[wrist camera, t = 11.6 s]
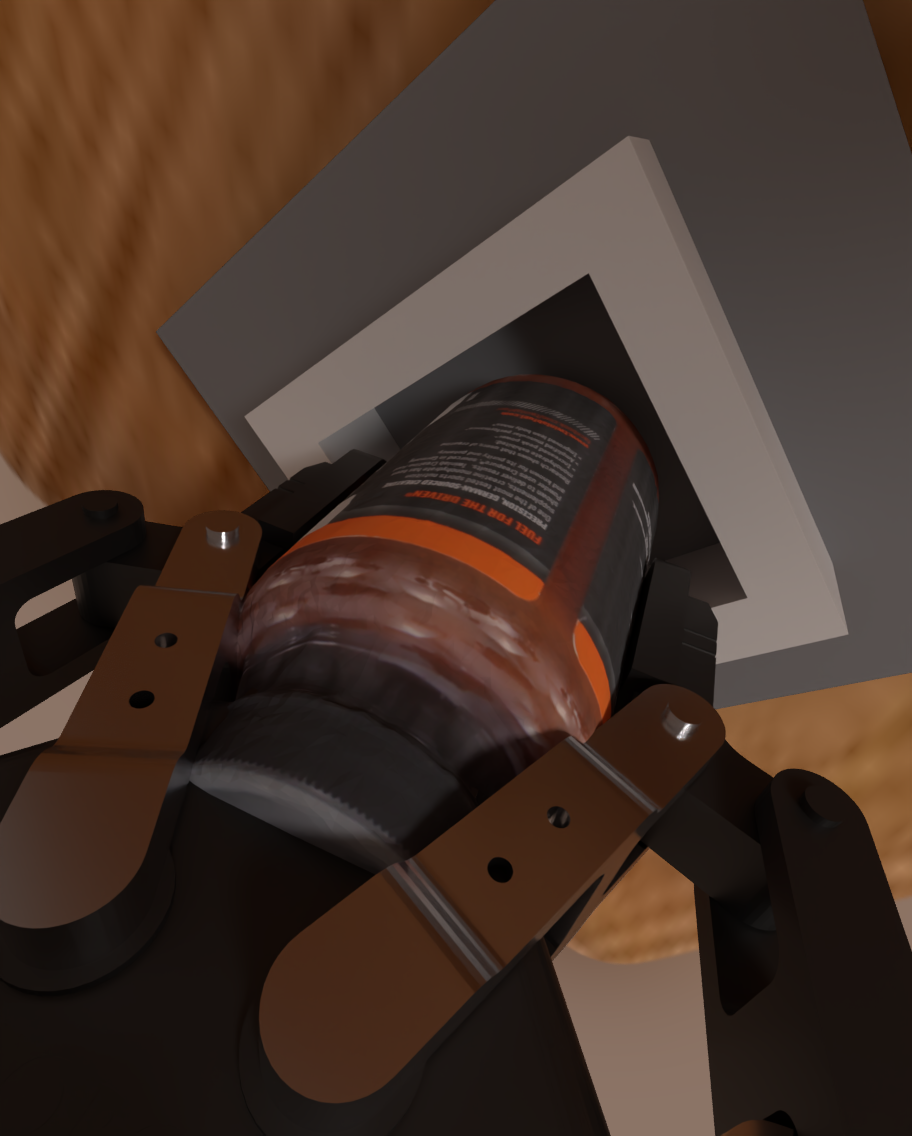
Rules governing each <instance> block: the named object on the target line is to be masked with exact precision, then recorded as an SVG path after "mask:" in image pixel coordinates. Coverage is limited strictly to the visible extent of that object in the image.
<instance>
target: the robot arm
mask: <svg viewBox="0 0 912 1136" xmlns="http://www.w3.org/2000/svg"><path fill="white" fill-rule="evenodd" d="M385 463H386V460H384V459H382V458H379V457H376V456H373V455H371V454H368V453H365V452H362V451H359V450H357V449H352V450H350V451H349V452H348V453H346V454H345V455H344V456H342V457H341V458H340V459H338V460H337V461H336V462H334V463H333V464H330V463H328V462H322V463H319V464H315V465H312V466H308V467H305V468H303V469H302V470H300V471H299V472H297V473H296V474H295V475H293V476H292V477H290V480H286V481H285V482H283V483H282V484H281V485H279V486H278V489H276V488H275V489H273V490H272V491H271V492H269V493H268V494H266V495H265V496H264V497H262V498H261V499H259V500H258V501H257V502H255V503H254V504H252V505H251V506H250V507H248V508H247V509H245V510H244V511H242V512H241V513H239V512H234V511H225V510H222V511H210V512H205V513H202V514H199V515H197V516H194V517H193V518H191V519H190V520H188V521H187V522H186V523H185V525H184V526H183V527H177V526H171V525H165V524H159V523H153V522H146V521H145V517H144V509H143V505H142V503H141V502H140V501H139V499H137V498H136V497H134V496H132V495H130V494H127V493H124V492H119V491H112V490H98V491H90V492H85V493H81V494H78V495H75V496H72V497H70V498H67V499H65V500H62V501H60V502H57V503H54V504H52V505H49V506H47V507H44V508H42V509H39V510H37V511H34V512H31V513H29V514H26V515H24V516H21V517H19V518H16V519H14V520H11V521H9V522H6V523H3V524H1V525H0V728H1V727H3V726H4V725H6V724H8V723H9V722H11V721H13V720H14V719H16V718H17V717H19V716H21V715H22V714H24V713H25V712H27V711H29V710H30V709H32V708H33V707H35V706H37V705H38V704H40V703H41V702H43V701H45V700H46V699H48V698H49V697H51V696H53V695H54V694H56V693H57V692H59V691H61V690H62V689H64V688H65V687H67V686H68V685H70V684H72V683H73V682H75V681H76V680H78V679H80V678H81V677H83V676H85V675H86V674H88V673H89V672H91V671H93V670H94V671H93V673H92V675H91V677H90V679H89V681H88V683H87V685H86V686H85V689H84V690H83V692H82V694H81V696H80V698H79V700H78V702H77V704H76V706H75V708H74V710H73V712H72V714H71V716H70V718H69V720H68V722H67V724H66V726H65V728H64V730H63V732H62V733H61V736H60V737H59V738H58V739H54V740H51V741H47V742H44V743H41V744H38V745H34V746H31V747H28V748H24V749H21V750H17V751H14V752H11V753H7V754H4V755H0V1136H611V1135H610V1132H609V1130H608V1126H607V1123H606V1120H605V1118H604V1115H603V1112H602V1109H601V1106H600V1103H599V1100H598V1097H597V1094H596V1091H595V1088H594V1085H593V1082H592V1079H591V1076H590V1073H589V1070H588V1067H587V1064H586V1062H585V1059H584V1055H583V1052H582V1049H581V1046H580V1044H579V1041H578V1037H577V1034H576V1031H575V1029H574V1026H573V1023H572V1020H571V1017H570V1014H569V1011H568V1008H567V1005H566V1002H565V999H564V996H563V993H562V990H561V987H560V984H559V981H558V978H557V975H556V972H555V969H554V966H553V963H552V961H553V960H554V959H555V958H556V957H557V956H558V954H559V953H560V952H561V951H562V950H563V949H564V947H565V946H566V945H567V944H568V943H569V941H570V940H571V939H572V938H573V937H574V935H575V934H576V933H577V932H578V930H579V929H580V928H581V926H582V925H583V924H584V922H585V921H586V920H587V919H588V917H589V916H590V915H591V914H592V912H593V911H594V910H595V909H596V908H597V907H598V905H599V904H600V903H601V902H602V901H603V900H604V899H605V898H606V896H607V895H608V894H609V893H610V892H611V891H612V890H613V889H614V888H615V886H616V885H617V884H618V883H619V882H620V881H621V880H622V879H623V877H624V876H625V875H626V874H627V873H628V872H629V871H630V870H631V869H632V867H633V866H634V865H635V864H636V863H637V862H638V861H639V860H640V859H641V857H642V856H643V855H644V854H645V853H646V852H647V851H648V850H649V849H652V850H653V851H654V852H655V853H657V854H658V855H659V856H660V857H662V858H663V859H664V860H665V861H667V862H668V863H669V864H670V865H672V866H673V867H674V868H675V869H677V870H678V871H679V872H680V873H682V874H683V875H684V876H685V877H687V878H688V879H689V880H690V881H692V882H693V883H694V895H695V907H696V918H697V930H698V942H699V953H700V964H701V976H702V987H703V999H704V1009H705V1022H706V1034H707V1045H708V1056H709V1069H710V1079H711V1092H712V1103H713V1115H714V1126H715V1136H912V951H911V948H910V945H909V942H908V939H907V936H906V934H905V931H904V928H903V925H902V922H901V919H900V916H899V913H898V910H897V907H896V904H895V902H894V899H893V896H892V893H891V890H890V887H889V884H888V881H887V878H886V875H885V873H884V870H883V867H882V864H881V861H880V858H879V855H878V852H877V849H876V846H875V844H874V841H873V838H872V835H871V832H870V829H869V826H868V824H867V821H866V819H865V817H864V815H863V813H862V812H861V810H860V809H859V807H858V806H857V805H856V803H855V802H854V801H853V800H852V799H851V798H850V797H849V796H848V795H847V794H846V793H845V792H844V791H843V790H842V789H841V788H839V787H838V786H836V785H835V784H834V783H832V782H831V781H829V780H827V779H826V778H824V777H822V776H820V775H818V774H815V773H813V772H810V771H806V770H802V769H786V770H783V771H781V772H779V773H777V774H776V776H775V777H774V778H773V777H772V776H770V775H769V774H767V773H766V772H764V771H763V770H761V769H760V768H758V767H757V766H755V765H754V764H752V763H751V762H749V761H748V760H747V759H745V758H744V757H743V756H741V755H740V754H739V753H738V752H737V751H735V750H734V749H733V748H732V747H731V746H730V745H729V743H728V742H727V741H726V740H725V736H726V731H725V726H724V723H723V721H722V719H721V717H720V715H719V714H718V713H717V711H716V710H715V709H714V708H713V703H714V685H715V668H716V658H715V656H716V651H717V643H716V641H717V634H718V621H717V619H716V617H715V615H714V613H713V611H712V609H711V607H710V605H709V603H707V602H704V601H701V600H699V599H696V598H693V597H690V596H688V595H689V587H690V579H691V570H688V569H686V568H683V567H680V566H677V565H675V564H672V563H669V562H666V561H663V560H661V559H658V558H655V559H654V560H653V562H652V564H651V566H650V568H649V570H648V572H647V575H646V577H645V580H644V583H643V588H642V593H641V596H640V601H639V607H638V610H637V614H636V619H635V624H634V629H633V633H632V637H631V641H630V645H629V649H628V653H627V657H626V661H625V666H624V670H623V674H622V679H621V684H620V688H619V692H618V696H617V701H616V705H615V710H614V714H613V717H611V718H610V719H609V720H608V721H606V722H605V723H604V724H603V725H601V726H600V727H599V728H598V729H596V730H595V731H594V733H593V734H592V735H591V737H590V738H589V739H588V740H587V741H586V742H584V743H582V742H581V741H580V740H579V739H578V738H576V737H575V736H570V737H567V738H566V739H564V740H563V741H561V742H560V743H559V744H557V745H556V746H555V747H553V748H552V749H551V750H550V751H548V752H547V753H546V754H545V755H543V756H542V757H541V758H539V759H538V760H537V761H536V762H534V763H533V764H532V765H530V766H529V767H528V768H527V769H525V770H524V771H523V772H521V773H520V774H519V775H518V776H516V777H515V778H514V779H513V780H511V781H510V782H509V783H507V784H506V785H505V786H504V787H502V788H501V789H500V790H498V791H497V792H496V793H495V794H493V795H492V796H491V797H490V798H488V799H487V800H486V801H484V802H483V803H482V804H481V805H479V806H478V807H477V808H475V809H474V810H473V811H472V812H470V813H469V814H468V815H466V816H465V817H464V818H463V819H461V820H460V821H459V822H458V823H456V824H455V825H454V826H452V827H451V828H450V829H449V830H447V831H446V832H445V833H443V834H442V835H441V836H440V837H438V838H437V839H436V840H435V841H433V842H432V843H431V844H429V845H428V846H427V847H426V848H424V849H423V850H422V851H420V852H419V853H418V854H416V855H415V856H414V857H412V858H410V859H408V860H406V861H403V862H398V863H395V864H393V865H391V866H389V867H387V868H385V869H384V870H382V871H380V872H379V873H378V874H376V875H375V874H373V873H371V872H369V871H367V870H365V869H363V868H360V867H358V866H356V865H354V864H352V863H350V862H348V861H346V860H344V859H342V858H340V857H337V856H335V855H333V854H331V853H329V852H327V851H325V850H323V849H321V848H319V847H316V846H314V845H312V844H310V843H308V842H306V841H304V840H302V839H300V838H298V837H295V836H293V835H291V834H289V833H287V832H285V831H283V830H281V829H279V828H277V827H275V826H273V825H271V824H269V823H267V822H265V821H263V820H261V819H259V818H257V817H255V816H253V815H251V814H249V813H247V812H245V811H243V810H241V809H239V808H237V807H235V806H233V805H231V804H229V803H227V802H225V801H223V800H221V799H219V798H217V797H215V796H213V795H211V794H209V793H207V792H206V791H204V790H203V789H201V788H200V787H198V786H196V785H195V784H193V783H192V782H191V781H190V780H189V779H190V776H191V772H192V766H193V763H194V761H195V759H196V756H197V752H198V749H199V748H200V747H201V746H202V744H203V743H204V742H205V741H206V740H207V738H208V737H209V736H210V735H211V734H212V733H213V731H214V730H215V729H216V728H217V727H218V726H219V724H220V723H221V722H222V721H223V720H224V719H225V718H226V716H227V715H228V713H229V712H230V711H229V710H228V705H229V704H230V703H232V702H234V701H235V699H236V695H237V645H238V642H237V640H238V630H239V621H240V614H241V609H242V605H243V602H244V599H245V596H246V595H247V593H248V592H249V591H250V589H251V588H252V586H253V585H254V584H255V583H256V582H257V581H258V580H259V579H260V578H261V576H262V575H263V574H264V573H265V572H266V570H267V569H268V568H269V567H270V566H271V565H273V564H274V563H275V562H276V561H277V560H278V559H279V558H280V557H281V556H283V555H284V554H285V553H286V552H287V551H288V550H289V549H290V548H291V547H293V546H294V545H295V544H296V543H297V542H298V541H299V540H300V539H301V538H302V537H303V536H304V535H305V534H307V533H308V532H309V531H310V530H311V529H312V528H313V527H314V526H316V525H317V524H318V523H319V522H320V521H321V520H322V519H323V518H325V517H326V516H327V515H328V514H329V513H330V512H331V511H332V510H333V509H335V508H336V507H337V506H338V505H339V504H340V503H342V502H343V501H344V500H345V499H346V498H347V497H348V496H349V495H350V494H351V493H352V492H354V491H355V490H356V489H357V488H358V487H359V486H361V485H362V484H363V483H364V482H365V481H366V480H367V479H368V478H369V477H370V476H371V475H372V474H374V473H375V472H376V471H377V470H379V469H380V468H381V467H382V466H383V465H384V464H385ZM70 579H72V581H73V586H74V590H75V595H76V599H74V600H72V601H70V602H68V603H66V604H64V605H62V606H60V607H58V608H57V609H55V610H53V611H51V612H49V613H47V614H45V615H43V616H41V617H39V618H37V619H36V620H33V621H31V622H30V623H28V624H26V625H24V626H22V627H20V628H18V629H16V627H15V616H16V614H17V612H18V611H19V609H20V608H21V607H22V605H24V604H25V603H26V602H27V601H28V600H30V599H32V598H33V597H36V596H38V595H40V594H42V593H44V592H46V591H48V590H50V589H52V588H54V587H56V586H58V585H60V584H62V583H64V582H66V581H68V580H70ZM258 691H259V690H257V689H255V688H251V689H250V690H249V691H248V692H247V693H246V694H245V695H244V696H247V695H251V694H255V693H257V692H258ZM244 696H243V697H244ZM471 790H472V793H473V796H474V798H476V796H477V793H478V790H477V789H475V788H473V787H471Z"/></svg>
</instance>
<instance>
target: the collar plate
mask: <svg viewBox="0 0 912 1136" xmlns="http://www.w3.org/2000/svg"><path fill="white" fill-rule="evenodd" d="M156 333H157V334H158V335H159V337H160V338H161V340H162V341H163V342H164V344H165V345H166V347H167V348H168V349H169V351H170V352H171V354H172V355H173V356H174V358H175V359H176V361H177V362H178V363H179V365H180V366H181V368H182V369H183V370H184V372H185V373H186V375H187V376H188V377H189V379H190V380H191V382H192V383H193V384H194V386H195V387H196V389H197V390H198V391H199V393H200V394H201V396H202V397H203V398H204V400H205V401H206V403H207V404H208V405H209V407H210V408H211V409H212V411H213V412H214V414H215V415H216V416H217V418H218V419H219V421H220V422H221V423H222V425H223V426H224V428H225V429H226V430H227V432H228V433H229V435H230V436H231V437H232V439H233V440H234V442H235V443H236V444H237V446H238V447H239V449H240V450H241V451H242V453H243V454H244V456H245V457H246V458H247V460H248V461H249V463H250V464H251V465H252V467H253V468H254V470H255V471H256V472H257V474H258V475H259V477H260V478H261V479H262V481H263V482H264V484H265V485H266V486H267V488H268V489H269V491H270V492H271V491H272V490H273V489H275V488H276V489H278V486H279V485H281V484H282V483H283V482H285V481H286V480H290V477H292V476H293V475H295V474H296V473H297V472H299V471H300V470H302V469H303V468H305V467H308V466H312V465H315V464H319V463H322V462H328V463H330V464H333V463H334V462H336V461H337V460H338V459H340V458H341V457H342V456H344V455H345V454H346V453H348V452H349V451H350V450H352V449H357V450H359V451H362V452H365V453H368V454H371V455H373V456H376V457H379V458H382V459H384V460H386V462H388V461H389V460H390V459H391V458H392V457H393V456H394V455H395V454H396V453H397V452H399V451H400V450H401V449H402V448H403V447H404V446H405V445H406V444H407V443H409V442H410V441H411V440H412V439H413V438H414V437H415V436H417V435H418V434H419V433H420V432H421V431H422V430H423V429H424V428H426V427H427V426H428V425H429V424H430V423H432V422H433V421H434V420H435V419H436V418H437V417H438V416H439V415H440V414H442V413H443V412H444V411H445V410H446V409H447V408H448V407H449V406H450V405H451V404H453V403H454V402H456V401H457V400H459V399H460V398H462V397H463V396H465V395H466V394H467V393H469V392H470V391H473V390H475V389H476V388H478V387H480V386H482V385H484V384H487V383H489V382H491V381H493V380H497V379H501V378H504V377H508V376H514V375H523V374H537V375H547V376H554V377H559V378H563V379H567V380H570V381H573V382H576V383H579V384H581V385H583V386H586V387H589V388H590V389H592V390H594V391H596V392H597V393H599V394H601V395H603V396H605V397H606V398H608V399H609V400H610V401H611V402H613V403H614V404H615V405H616V406H617V407H618V408H619V409H620V410H621V411H622V412H623V413H624V414H625V415H626V416H627V417H628V418H629V419H630V421H631V422H632V423H633V424H634V425H635V427H636V428H637V430H638V431H639V433H640V434H641V436H642V438H643V439H644V441H645V443H646V444H647V446H648V448H649V451H650V453H651V456H652V458H653V461H654V464H655V467H656V471H657V475H658V483H659V506H658V518H657V525H656V531H655V536H654V539H653V544H652V549H651V554H650V558H649V562H648V566H647V570H646V575H647V572H648V570H649V568H650V566H651V564H652V562H653V560H654V559H655V558H658V559H661V560H663V561H666V562H669V563H672V564H675V565H677V566H680V567H683V568H686V569H688V570H691V579H690V587H689V595H688V596H690V597H693V598H696V599H699V600H701V601H704V602H707V603H709V605H710V607H711V609H712V611H713V613H714V615H715V617H716V619H717V621H718V634H717V641H716V643H717V651H716V656H715V658H716V668H715V685H714V703H713V708H714V709H719V708H725V707H730V706H735V705H741V704H746V703H751V702H757V701H762V700H767V699H773V698H778V697H783V696H789V695H794V694H799V693H805V692H810V691H815V690H821V689H826V688H832V687H837V686H842V685H848V684H853V683H858V682H864V681H869V680H874V679H880V678H885V677H890V676H896V675H901V674H906V673H912V154H911V150H910V147H909V144H908V141H907V138H906V135H905V132H904V128H903V125H902V122H901V119H900V116H899V113H898V109H897V106H896V103H895V100H894V97H893V94H892V91H891V87H890V84H889V81H888V78H887V75H886V72H885V69H884V65H883V62H882V59H881V56H880V53H879V50H878V47H877V43H876V40H875V37H874V34H873V31H872V28H871V24H870V21H869V18H868V15H867V12H866V9H865V6H864V2H863V0H495V1H494V2H493V3H492V4H491V5H490V6H489V7H488V8H487V9H486V10H485V11H484V12H483V13H482V14H481V15H480V16H479V17H478V18H477V19H476V20H475V21H474V22H473V23H472V24H471V25H470V26H469V27H468V28H467V29H466V30H465V31H464V32H463V33H462V34H461V35H460V36H459V37H458V38H456V39H455V40H454V41H453V42H452V43H451V44H450V45H449V46H448V47H447V48H446V49H445V50H444V51H443V52H442V53H441V54H440V55H439V56H438V57H437V58H436V59H435V60H434V61H433V62H432V63H431V64H430V65H429V66H428V67H427V68H426V69H425V70H424V71H423V72H422V73H421V74H420V75H419V76H418V77H417V78H415V79H414V80H413V81H412V82H411V83H410V84H409V85H408V86H407V87H406V88H405V89H404V90H403V91H402V92H401V93H400V94H399V95H398V96H397V97H396V98H395V99H394V100H393V101H392V102H391V103H390V104H389V105H388V106H387V107H386V108H385V109H384V110H383V111H382V112H381V113H380V114H379V115H378V116H377V117H375V118H374V119H373V120H372V121H371V122H370V123H369V124H368V125H367V126H366V127H365V128H364V129H363V130H362V131H361V132H360V133H359V134H358V135H357V136H356V137H355V138H354V139H353V140H352V141H351V142H350V143H349V144H348V145H347V146H346V147H345V148H344V149H343V150H342V151H341V152H340V153H339V154H338V155H337V156H336V157H334V158H333V159H332V160H331V161H330V162H329V163H328V164H327V165H326V166H325V167H324V168H323V169H322V170H321V171H320V172H319V173H318V174H317V175H316V176H315V177H314V178H313V179H312V180H311V181H310V182H309V183H308V184H307V185H306V186H305V187H304V188H303V189H302V190H301V191H300V192H299V193H298V194H297V195H296V196H295V197H293V198H292V199H291V200H290V201H289V202H288V203H287V204H286V205H285V206H284V207H283V208H282V209H281V210H280V211H279V212H278V213H277V214H276V215H275V216H274V217H273V218H272V219H271V220H270V221H269V222H268V223H267V224H266V225H265V226H264V227H263V228H262V229H261V230H260V231H259V232H258V233H257V234H256V235H255V236H253V237H252V238H251V239H250V240H249V241H248V242H247V243H246V244H245V245H244V246H243V247H242V248H241V249H240V250H239V251H238V252H237V253H236V254H235V255H234V256H233V257H232V258H231V259H230V260H229V261H228V262H227V263H226V264H225V265H224V266H223V267H222V268H221V269H220V270H219V271H218V272H217V273H216V274H215V275H214V276H212V277H211V278H210V279H209V280H208V281H207V282H206V283H205V284H204V285H203V286H202V287H201V288H200V289H199V290H198V291H197V292H196V293H195V294H194V295H193V296H192V297H191V298H190V299H189V300H188V301H187V302H186V303H185V304H184V305H183V306H182V307H181V308H180V309H179V310H178V311H177V312H176V313H175V314H174V315H173V316H171V317H170V318H169V319H168V320H167V321H166V322H165V323H164V324H163V325H162V326H161V327H160V328H159V329H158V330H157V331H156ZM646 575H645V577H646Z"/></svg>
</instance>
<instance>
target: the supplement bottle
mask: <svg viewBox="0 0 912 1136" xmlns="http://www.w3.org/2000/svg"><path fill="white" fill-rule="evenodd" d="M658 506H659V483H658V475H657V471H656V467H655V464H654V461H653V458H652V456H651V453H650V451H649V448H648V446H647V444H646V443H645V441H644V439H643V438H642V436H641V434H640V433H639V431H638V430H637V428H636V427H635V425H634V424H633V423H632V422H631V421H630V419H629V418H628V417H627V416H626V415H625V414H624V413H623V412H622V411H621V410H620V409H619V408H618V407H617V406H616V405H615V404H614V403H613V402H611V401H610V400H609V399H608V398H606V397H605V396H603V395H601V394H599V393H597V392H596V391H594V390H592V389H590V388H589V387H586V386H583V385H581V384H579V383H576V382H573V381H570V380H567V379H563V378H559V377H554V376H547V375H537V374H523V375H514V376H508V377H504V378H501V379H497V380H493V381H491V382H489V383H487V384H484V385H482V386H480V387H478V388H476V389H475V390H473V391H470V392H469V393H467V394H466V395H465V396H463V397H462V398H460V399H459V400H457V401H456V402H454V403H453V404H451V405H450V406H449V407H448V408H447V409H446V410H445V411H444V412H443V413H442V414H440V415H439V416H438V417H437V418H436V419H435V420H434V421H433V422H432V423H430V424H429V425H428V426H427V427H426V428H424V429H423V430H422V431H421V432H420V433H419V434H418V435H417V436H415V437H414V438H413V439H412V440H411V441H410V442H409V443H407V444H406V445H405V446H404V447H403V448H402V449H401V450H400V451H399V452H397V453H396V454H395V455H394V456H393V457H392V458H391V459H390V460H389V461H388V462H386V463H385V464H384V465H383V466H382V467H381V468H380V469H379V470H377V471H376V472H375V473H374V474H372V475H371V476H370V477H369V478H368V479H367V480H366V481H365V482H364V483H363V484H362V485H361V486H359V487H358V488H357V489H356V490H355V491H354V492H352V493H351V494H350V495H349V496H348V497H347V498H346V499H345V500H344V501H343V502H342V503H340V504H339V505H338V506H337V507H336V508H335V509H333V510H332V511H331V512H330V513H329V514H328V515H327V516H326V517H325V518H323V519H322V520H321V521H320V522H319V523H318V524H317V525H316V526H314V527H313V528H312V529H311V530H310V531H309V532H308V533H307V534H305V535H304V536H303V537H302V538H301V539H300V540H299V541H298V542H297V543H296V544H295V545H294V546H293V547H291V548H290V549H289V550H288V551H287V552H286V553H285V554H284V555H283V556H281V557H280V558H279V559H278V560H277V561H276V562H275V563H274V564H273V565H271V566H270V567H269V568H268V569H267V570H266V572H265V573H264V574H263V575H262V576H261V578H260V579H259V580H258V581H257V582H256V583H255V584H254V585H253V586H252V588H251V589H250V591H249V592H248V593H247V595H246V596H245V599H244V602H243V605H242V609H241V614H240V621H239V630H238V640H237V642H238V645H237V695H236V699H235V701H234V702H232V703H230V704H229V705H228V710H229V711H230V712H229V713H228V715H227V716H226V718H225V719H224V720H223V721H222V722H221V723H220V724H219V726H218V727H217V728H216V729H215V730H214V731H213V733H212V734H211V735H210V736H209V737H208V738H207V740H206V741H205V742H204V743H203V744H202V746H201V747H200V748H199V749H198V752H197V756H196V759H195V761H194V763H193V766H192V772H191V776H190V779H189V780H190V781H191V782H192V783H193V784H195V785H196V786H198V787H200V788H201V789H203V790H204V791H206V792H207V793H209V794H211V795H213V796H215V797H217V798H219V799H221V800H223V801H225V802H227V803H229V804H231V805H233V806H235V807H237V808H239V809H241V810H243V811H245V812H247V813H249V814H251V815H253V816H255V817H257V818H259V819H261V820H263V821H265V822H267V823H269V824H271V825H273V826H275V827H277V828H279V829H281V830H283V831H285V832H287V833H289V834H291V835H293V836H295V837H298V838H300V839H302V840H304V841H306V842H308V843H310V844H312V845H314V846H316V847H319V848H321V849H323V850H325V851H327V852H329V853H331V854H333V855H335V856H337V857H340V858H342V859H344V860H346V861H348V862H350V863H352V864H354V865H356V866H358V867H360V868H363V869H365V870H367V871H369V872H371V873H373V874H375V875H376V874H378V873H379V872H380V871H382V870H384V869H385V868H387V867H389V866H391V865H393V864H395V863H398V862H403V861H406V860H408V859H410V858H412V857H414V856H415V855H416V854H418V853H419V852H420V851H422V850H423V849H424V848H426V847H427V846H428V845H429V844H431V843H432V842H433V841H435V840H436V839H437V838H438V837H440V836H441V835H442V834H443V833H445V832H446V831H447V830H449V829H450V828H451V827H452V826H454V825H455V824H456V823H458V822H459V821H460V820H461V819H463V818H464V817H465V816H466V815H468V814H469V813H470V812H472V811H473V810H474V809H475V808H477V807H478V806H479V805H481V804H482V803H483V802H484V801H486V800H487V799H488V798H490V797H491V796H492V795H493V794H495V793H496V792H497V791H498V790H500V789H501V788H502V787H504V786H505V785H506V784H507V783H509V782H510V781H511V780H513V779H514V778H515V777H516V776H518V775H519V774H520V773H521V772H523V771H524V770H525V769H527V768H528V767H529V766H530V765H532V764H533V763H534V762H536V761H537V760H538V759H539V758H541V757H542V756H543V755H545V754H546V753H547V752H548V751H550V750H551V749H552V748H553V747H555V746H556V745H557V744H559V743H560V742H561V741H563V740H564V739H566V738H567V737H570V736H575V737H576V738H578V739H579V740H580V741H581V742H582V743H584V742H586V741H587V740H588V739H589V738H590V737H591V735H592V734H593V733H594V731H595V730H596V729H598V728H599V727H600V726H601V725H603V724H604V723H605V722H606V721H608V720H609V719H610V718H611V717H613V714H614V710H615V705H616V701H617V696H618V692H619V688H620V684H621V679H622V674H623V670H624V666H625V661H626V657H627V653H628V649H629V645H630V641H631V637H632V633H633V629H634V624H635V619H636V614H637V610H638V607H639V601H640V596H641V593H642V588H643V583H644V580H645V575H646V570H647V566H648V562H649V558H650V554H651V549H652V544H653V539H654V536H655V531H656V525H657V518H658ZM251 688H255V689H257V690H259V691H258V692H257V693H255V694H251V695H247V696H244V695H245V694H246V693H247V692H248V691H249V690H250V689H251ZM243 696H244V697H243ZM471 787H473V788H475V789H477V790H478V793H477V796H476V798H474V796H473V793H472V790H471Z"/></svg>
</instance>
